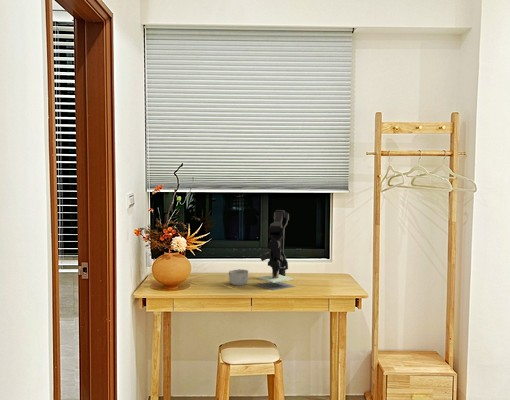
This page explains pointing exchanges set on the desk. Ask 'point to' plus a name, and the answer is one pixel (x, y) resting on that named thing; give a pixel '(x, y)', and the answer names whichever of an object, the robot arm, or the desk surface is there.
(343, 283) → the desk surface
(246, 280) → the teacup
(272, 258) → the robot arm
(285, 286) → the mat
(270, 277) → the lid
